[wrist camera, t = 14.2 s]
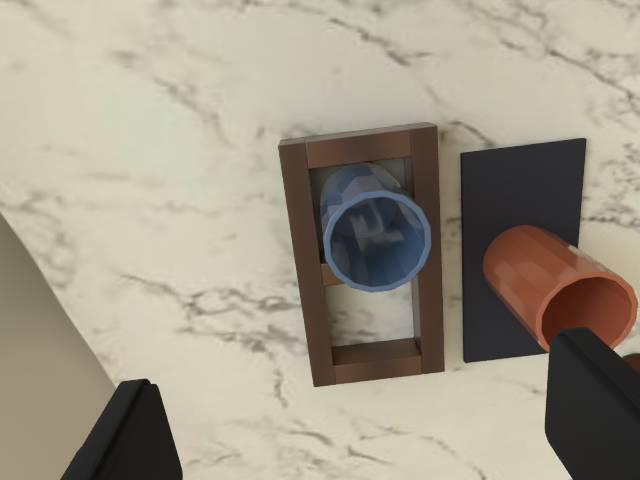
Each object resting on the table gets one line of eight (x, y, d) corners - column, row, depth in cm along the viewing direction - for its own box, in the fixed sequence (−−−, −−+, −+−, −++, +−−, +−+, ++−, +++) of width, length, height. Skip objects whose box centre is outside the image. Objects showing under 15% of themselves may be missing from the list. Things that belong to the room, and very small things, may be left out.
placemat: (460, 153, 37) (462, 154, 37) (583, 137, 37) (586, 138, 37) (463, 360, 44) (465, 363, 44) (566, 348, 44) (569, 350, 44)
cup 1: (314, 167, 37) (318, 198, 28) (397, 157, 37) (429, 184, 28) (324, 244, 40) (330, 297, 30) (402, 235, 40) (433, 285, 30)
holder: (313, 367, 44) (313, 387, 41) (280, 140, 37) (277, 145, 34) (436, 352, 44) (445, 372, 41) (427, 121, 36) (437, 125, 34)
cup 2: (482, 229, 39) (538, 278, 30) (562, 219, 39) (643, 266, 30) (482, 300, 41) (534, 366, 32) (557, 291, 41) (631, 355, 32)
